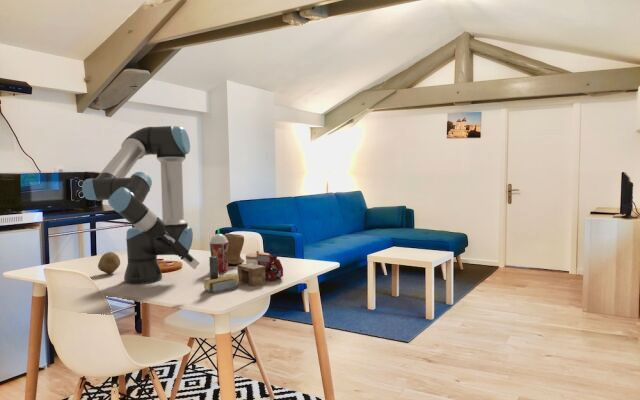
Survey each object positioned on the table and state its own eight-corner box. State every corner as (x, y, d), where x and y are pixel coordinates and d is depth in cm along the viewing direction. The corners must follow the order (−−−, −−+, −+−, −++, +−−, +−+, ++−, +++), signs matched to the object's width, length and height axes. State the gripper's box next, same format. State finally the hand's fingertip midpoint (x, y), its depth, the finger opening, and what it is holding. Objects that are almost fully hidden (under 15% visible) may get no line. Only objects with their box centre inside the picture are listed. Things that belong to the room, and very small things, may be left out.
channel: (204, 290, 177) (204, 281, 177) (227, 285, 184) (227, 276, 183) (213, 293, 172) (212, 284, 172) (236, 288, 179) (236, 279, 179)
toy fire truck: (277, 282, 187) (276, 257, 186) (252, 279, 193) (252, 255, 193) (286, 278, 193) (286, 254, 192) (262, 276, 199) (262, 252, 199)
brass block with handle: (204, 288, 175) (203, 257, 174) (234, 282, 184) (233, 253, 183) (208, 289, 172) (207, 259, 172) (238, 283, 181) (237, 254, 180)
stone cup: (250, 262, 230) (249, 232, 229) (234, 267, 220) (233, 235, 219) (226, 260, 237) (225, 231, 236) (210, 264, 227) (209, 234, 226)
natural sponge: (124, 273, 211) (123, 251, 211) (104, 277, 205) (103, 254, 204) (115, 270, 217) (114, 249, 217) (96, 274, 211) (95, 252, 210)
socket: (238, 282, 189) (237, 265, 189) (250, 279, 193) (249, 262, 193) (252, 286, 181) (252, 268, 181) (265, 283, 185) (265, 266, 185)
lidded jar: (266, 274, 202) (265, 253, 201) (242, 274, 204) (242, 253, 204) (273, 269, 213) (272, 249, 212) (251, 268, 215) (250, 248, 214)
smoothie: (233, 271, 210) (231, 227, 209) (217, 274, 204) (215, 229, 203) (222, 268, 216) (220, 226, 215) (207, 272, 210) (205, 228, 209)
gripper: (135, 231, 162) (182, 271, 174) (149, 234, 152) (198, 276, 164) (149, 215, 165) (194, 255, 177) (164, 217, 155) (211, 259, 167)
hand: (196, 265), depth 170 cm, fingers closed
